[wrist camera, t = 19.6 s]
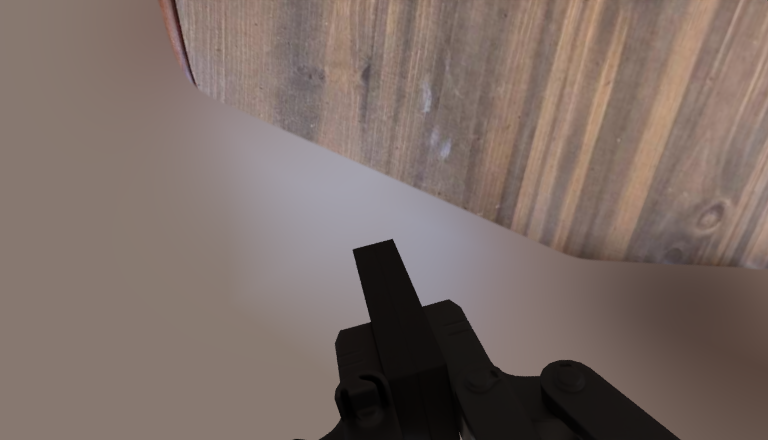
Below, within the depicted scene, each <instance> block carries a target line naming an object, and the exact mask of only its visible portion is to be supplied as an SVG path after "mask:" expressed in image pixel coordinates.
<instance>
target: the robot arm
mask: <svg viewBox="0 0 768 440" xmlns="http://www.w3.org/2000/svg"><path fill="white" fill-rule="evenodd" d="M353 254H354V257H355V261H356V265H357V269H358V273H359V277H360V281H361V285H362V289H363V293H364V296H365V300H366V304H367V308H368V312H369V316H370V320H371V322H370V323H366V324H362V325H359V326H355V327H352V328H348V329H344V330H340V332H339V334H338V337H337V339H336V342H335V348H336V355H337V362H338V370H339V377H340V384H339V385H338V387H337V388H336V391H335V401H336V404H337V407H338V410H339V413H340V416H341V419H340V421H339V423H338V424H337V425H336V427H335V428H334V429H333V430H332V431H331V432H329V433H328V434H327V435H325V436H324V437H322V438H321V439H319V440H460V435H461V437H462V440H680V439H679V438H678V437H676V436H675V435H674V434H673V433H671V432H670V431H669V430H668V429H666V428H665V427H664V426H663V425H661V424H660V423H659V422H658V421H656V420H655V419H654V418H652V417H651V416H650V415H649V414H647V413H646V412H645V411H644V410H642V409H641V408H640V407H639V406H637V405H636V404H635V403H634V402H632V401H631V400H630V399H629V398H627V397H626V396H625V395H624V394H622V393H621V392H620V391H618V390H617V389H616V388H615V387H613V386H612V385H611V384H610V383H608V382H607V381H606V380H604V379H603V378H602V377H601V376H600V375H598V374H597V373H596V372H595V371H593V370H592V369H591V368H589V367H587V366H586V365H584V364H582V363H580V362H576V361H572V360H559V361H555V362H552V363H550V364H548V365H547V366H546V367H545V368H544V369H543V370H542V373H541V375H540V376H528V377H527V376H526V377H525V376H514V375H509V374H506V373H504V372H502V371H501V370H500V369H499V368H498V367H496V366H494V365H493V363H492V362H491V361H490V359H489V357H488V355H487V354H486V352H485V350H484V348H483V346H482V345H481V343H480V341H479V339H478V338H477V336H476V334H475V332H474V330H473V329H472V327H471V325H470V323H469V321H468V320H467V318H466V316H465V314H464V312H463V311H462V309H461V307H460V306H458V305H457V304H455V303H454V302H452V301H451V300H445V301H441V302H437V303H434V304H430V305H427V306H423V307H422V305H421V303H420V301H419V298H418V296H417V294H416V291H415V289H414V287H413V285H412V283H411V280H410V278H409V275H408V273H407V271H406V268H405V266H404V264H403V261H402V259H401V257H400V254H399V252H398V250H397V248H396V245H395V243H394V241H393V239H391V240H387V241H383V242H379V243H375V244H371V245H368V246H364V247H360V248H356V249H353ZM459 432H460V435H459ZM294 440H303V439H294Z"/></svg>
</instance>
